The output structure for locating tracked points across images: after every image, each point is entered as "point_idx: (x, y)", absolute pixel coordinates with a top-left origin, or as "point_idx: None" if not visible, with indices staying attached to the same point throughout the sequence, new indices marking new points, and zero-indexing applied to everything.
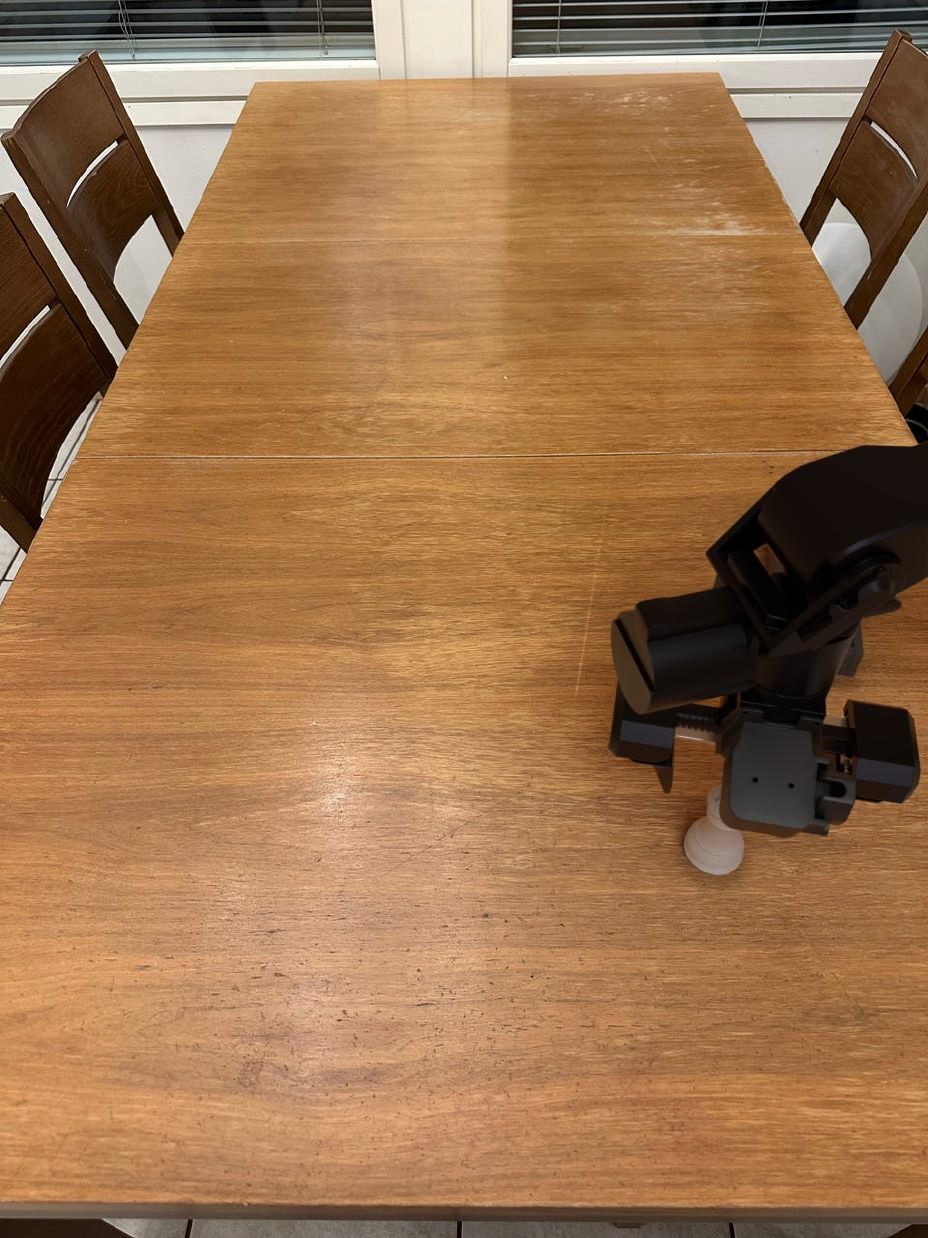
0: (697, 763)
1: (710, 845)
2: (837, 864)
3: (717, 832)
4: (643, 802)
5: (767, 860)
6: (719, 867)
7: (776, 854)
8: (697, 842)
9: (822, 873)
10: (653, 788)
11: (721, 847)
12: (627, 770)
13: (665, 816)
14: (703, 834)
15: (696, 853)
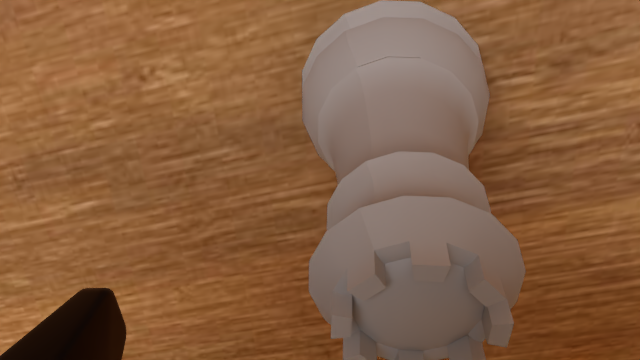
0: None
1: (431, 86)
2: (43, 121)
3: (429, 137)
4: (590, 183)
5: (228, 90)
6: (378, 21)
7: (206, 113)
8: (465, 91)
9: (73, 86)
10: (556, 224)
11: (392, 86)
12: (624, 257)
13: (528, 156)
14: (461, 121)
15: (462, 53)
